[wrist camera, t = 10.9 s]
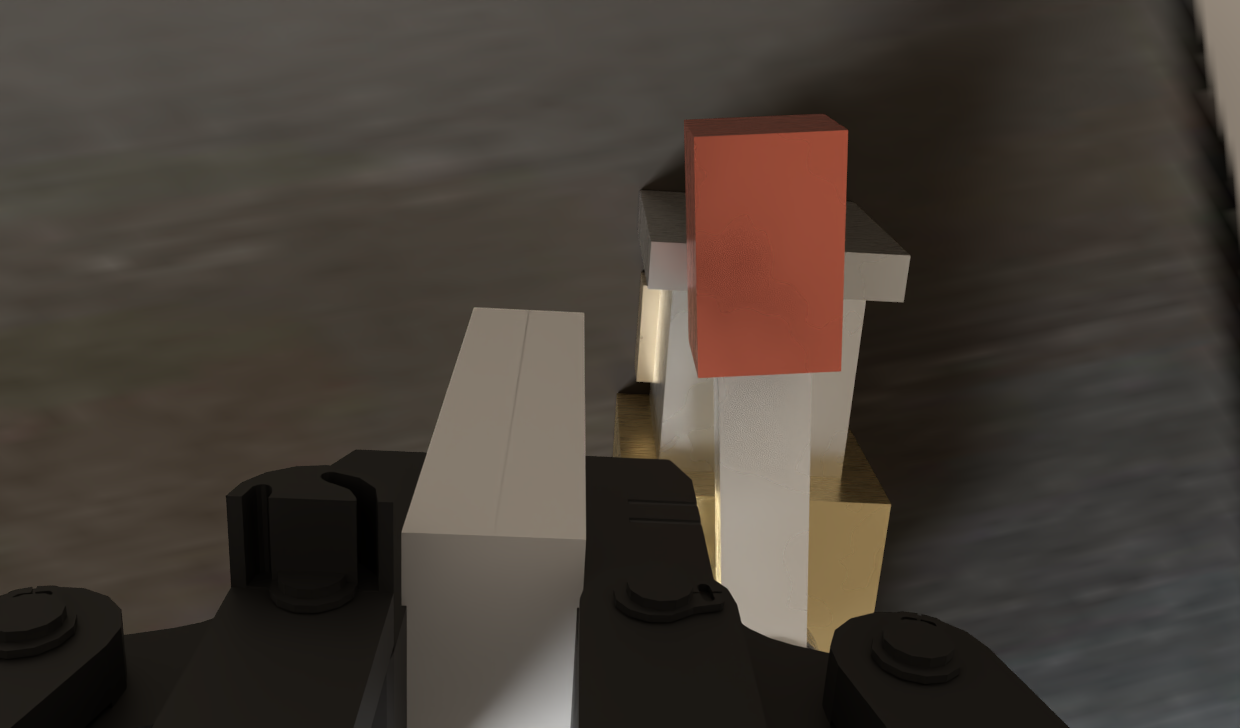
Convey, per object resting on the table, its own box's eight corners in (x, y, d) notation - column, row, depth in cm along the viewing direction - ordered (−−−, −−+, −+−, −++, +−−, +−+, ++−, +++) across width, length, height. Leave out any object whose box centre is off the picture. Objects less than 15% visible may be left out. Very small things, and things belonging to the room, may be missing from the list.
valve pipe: (788, 752, 41) (839, 956, 32) (594, 745, 40) (595, 950, 32) (863, 202, 34) (951, 283, 26) (630, 189, 34) (643, 266, 25)
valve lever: (815, 703, 29) (833, 766, 27) (692, 709, 29) (700, 772, 27) (828, 113, 24) (853, 130, 22) (679, 119, 24) (688, 137, 22)
